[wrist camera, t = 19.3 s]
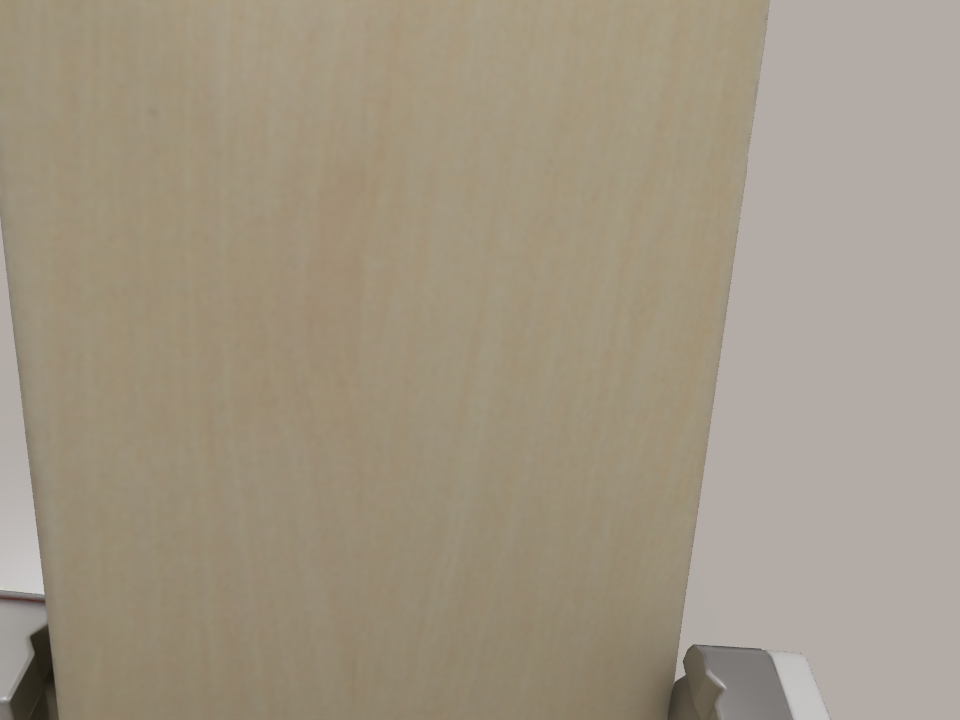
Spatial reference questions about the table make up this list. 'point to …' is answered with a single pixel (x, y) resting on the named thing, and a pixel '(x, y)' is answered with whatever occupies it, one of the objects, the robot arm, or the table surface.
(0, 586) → the table surface
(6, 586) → the table surface
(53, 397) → the toy refrigerator
